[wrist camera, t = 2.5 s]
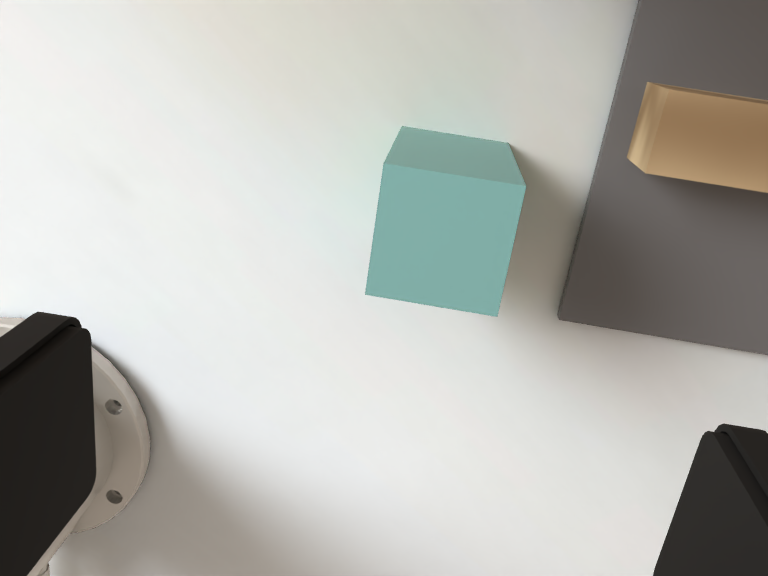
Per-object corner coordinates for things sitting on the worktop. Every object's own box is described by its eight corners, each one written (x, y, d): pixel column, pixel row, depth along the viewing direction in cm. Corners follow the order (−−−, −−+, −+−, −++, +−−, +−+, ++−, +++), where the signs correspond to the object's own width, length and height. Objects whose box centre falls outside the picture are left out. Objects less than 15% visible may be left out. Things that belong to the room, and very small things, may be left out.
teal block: (487, 244, 31) (497, 316, 23) (386, 227, 31) (365, 294, 23) (508, 143, 29) (526, 186, 22) (402, 126, 29) (383, 163, 22)
